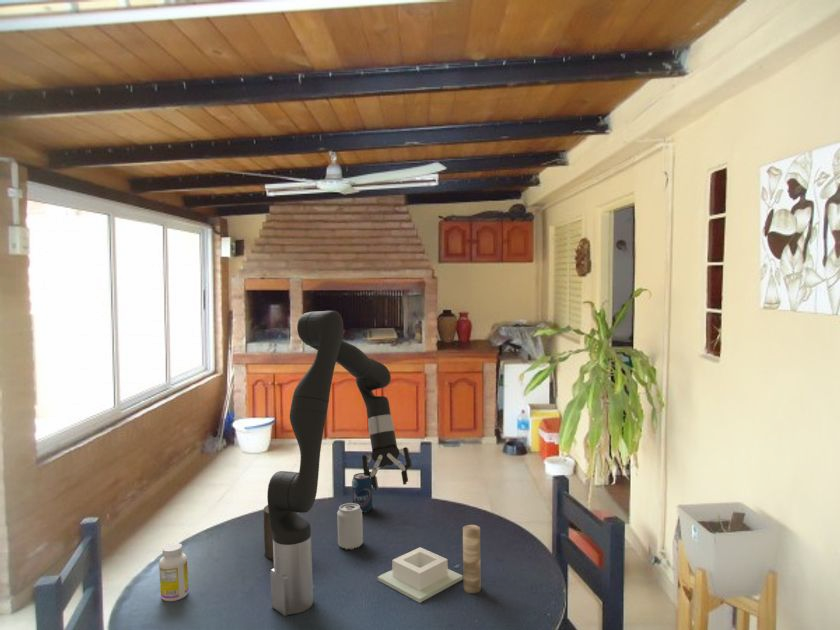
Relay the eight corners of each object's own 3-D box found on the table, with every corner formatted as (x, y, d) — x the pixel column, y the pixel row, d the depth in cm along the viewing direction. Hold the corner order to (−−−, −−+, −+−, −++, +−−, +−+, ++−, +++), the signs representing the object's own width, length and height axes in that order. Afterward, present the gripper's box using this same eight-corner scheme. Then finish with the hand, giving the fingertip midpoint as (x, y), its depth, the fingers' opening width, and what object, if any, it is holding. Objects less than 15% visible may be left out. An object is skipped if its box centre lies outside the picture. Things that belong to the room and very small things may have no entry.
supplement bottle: (180, 586, 159) (178, 538, 158) (193, 594, 155) (191, 545, 154) (155, 596, 154) (153, 548, 153) (169, 605, 150) (166, 555, 149)
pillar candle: (257, 557, 174) (256, 507, 173) (275, 543, 184) (274, 495, 183) (287, 562, 172) (286, 511, 170) (304, 547, 181) (303, 498, 180)
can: (365, 540, 185) (364, 501, 184) (360, 551, 177) (359, 511, 177) (341, 539, 186) (340, 501, 185) (335, 550, 178) (334, 510, 177)
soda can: (354, 514, 205) (353, 479, 204) (351, 506, 212) (350, 473, 211) (374, 512, 207) (373, 477, 206) (370, 504, 213) (369, 471, 213)
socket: (419, 602, 149) (419, 581, 149) (377, 580, 160) (377, 560, 160) (462, 579, 160) (462, 559, 160) (420, 559, 171) (420, 540, 171)
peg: (473, 595, 152) (472, 533, 151) (460, 589, 155) (459, 528, 154) (484, 588, 155) (483, 528, 154) (471, 582, 158) (470, 523, 157)
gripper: (356, 435, 178) (364, 492, 174) (403, 426, 177) (412, 483, 173) (361, 436, 185) (369, 490, 181) (406, 427, 184) (416, 482, 180)
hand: (390, 486), depth 177 cm, fingers open, 8 cm apart
